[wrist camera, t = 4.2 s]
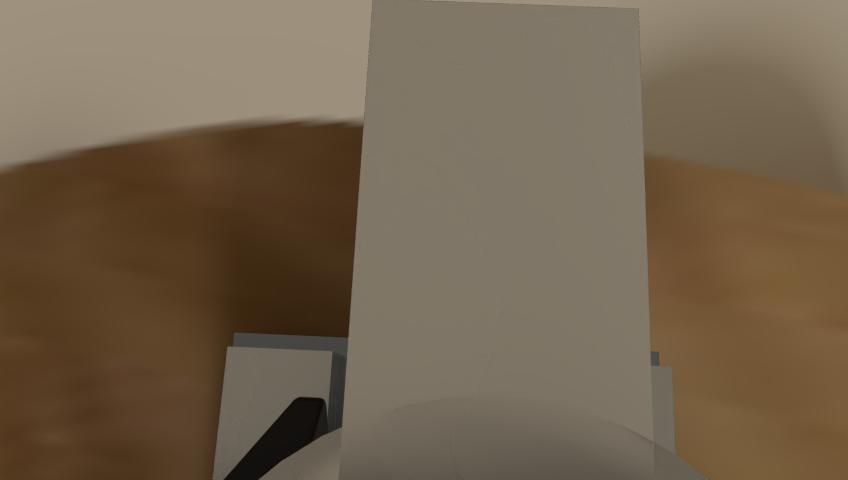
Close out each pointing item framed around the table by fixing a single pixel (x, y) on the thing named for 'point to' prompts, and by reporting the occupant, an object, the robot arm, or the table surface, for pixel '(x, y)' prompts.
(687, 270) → the table surface
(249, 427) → the vise
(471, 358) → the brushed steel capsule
